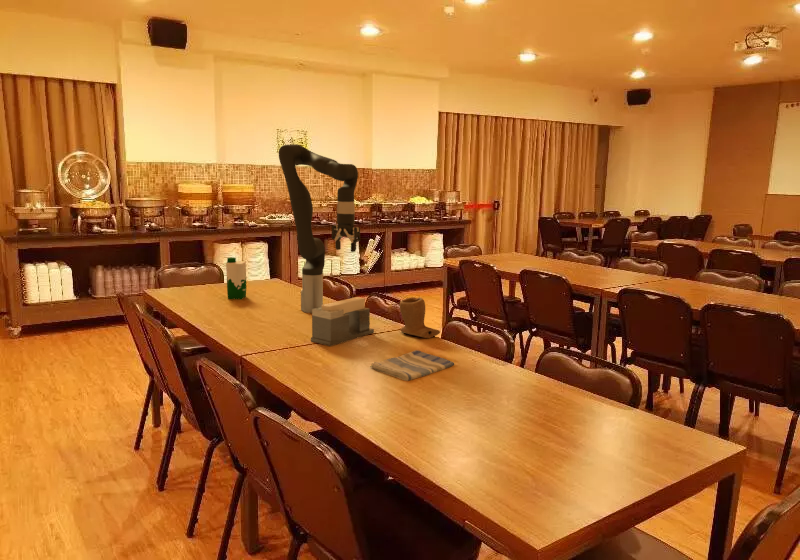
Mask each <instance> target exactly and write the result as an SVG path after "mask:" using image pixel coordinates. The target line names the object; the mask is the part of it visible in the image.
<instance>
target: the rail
mask: <svg viewBox="0 0 800 560" xmlns="http://www.w3.org/2000/svg"><path fill="white" fill-rule="evenodd" d="M365 299H366V298H365V297H360V296H356V297H351V298H347V299H342V300H338V301H334V302H329V303H323V305H322V310H324V311H328V312H332V311H336V310H340V309H343V310H344V313H348V312H352V311H356V310H359V309H363V308H366V305H365V304H366V300H365Z"/></svg>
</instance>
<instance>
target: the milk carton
mask: <svg viewBox="0 0 800 560" xmlns="http://www.w3.org/2000/svg"><path fill="white" fill-rule="evenodd" d="M236 259H237V258H236V257H233V256H232V257H227V259H226V260H227V262H226V263H225V269H226V289H227V290H226V291H227V300H243V299H245V298H246V296H247V264H246V263H247V261H244V260H243V261H241V260H236Z"/></svg>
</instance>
